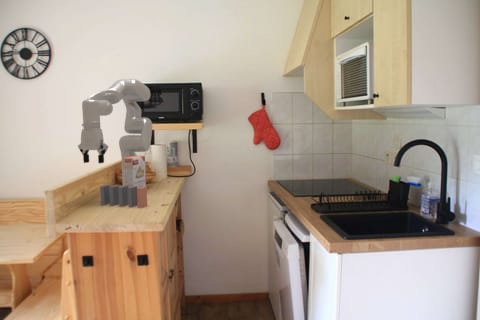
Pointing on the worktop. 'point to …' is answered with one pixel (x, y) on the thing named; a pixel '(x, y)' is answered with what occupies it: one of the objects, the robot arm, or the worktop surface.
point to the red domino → (142, 196)
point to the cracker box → (134, 171)
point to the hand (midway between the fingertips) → (93, 162)
